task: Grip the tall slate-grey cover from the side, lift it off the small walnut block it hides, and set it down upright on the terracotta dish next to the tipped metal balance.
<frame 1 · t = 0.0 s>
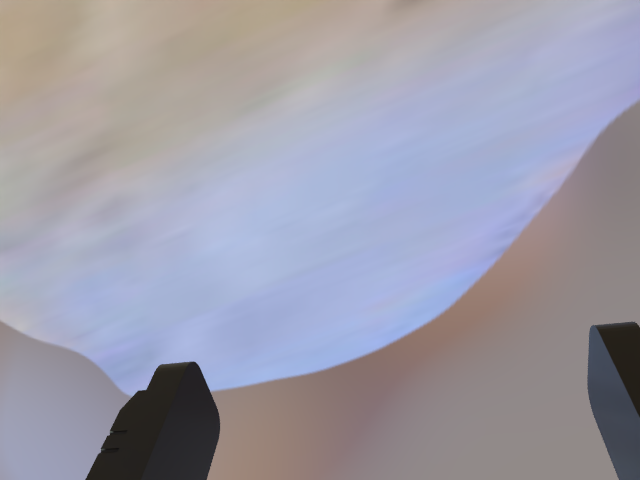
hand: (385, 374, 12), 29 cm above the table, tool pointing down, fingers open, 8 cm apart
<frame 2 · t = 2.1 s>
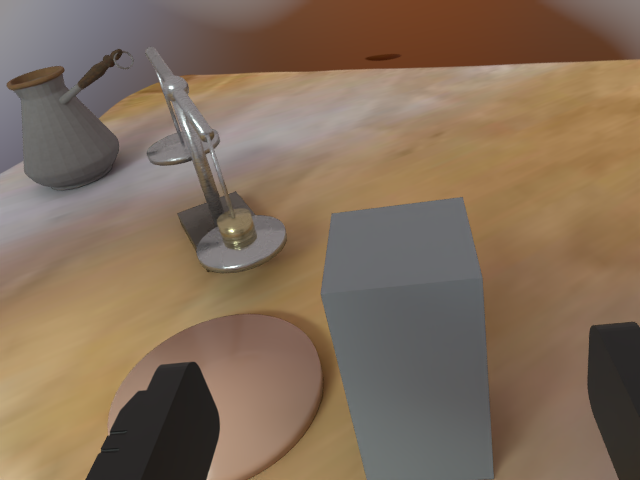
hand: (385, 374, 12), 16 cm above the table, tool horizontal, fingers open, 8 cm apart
tipped balance: (224, 233, 52), on the table
terracotta dish: (219, 396, 35), on the table
slate cover: (425, 430, 30), on the table
coffee pot: (109, 179, 69), on the table
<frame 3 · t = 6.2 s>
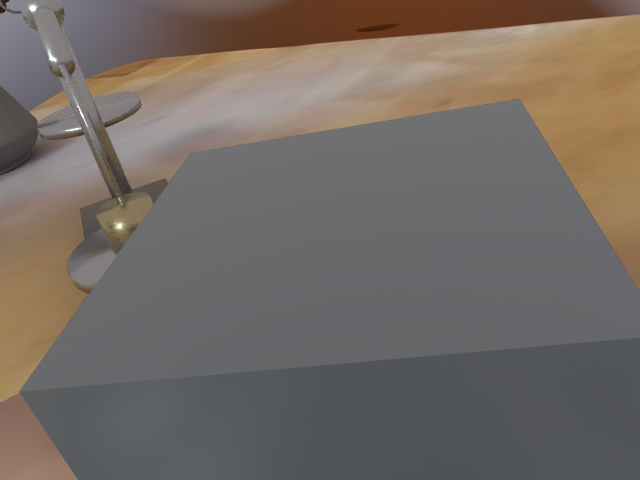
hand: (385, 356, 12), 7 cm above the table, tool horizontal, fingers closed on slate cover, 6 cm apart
tipped balance: (140, 235, 36), on the table
coffee pot: (21, 171, 54), on the table
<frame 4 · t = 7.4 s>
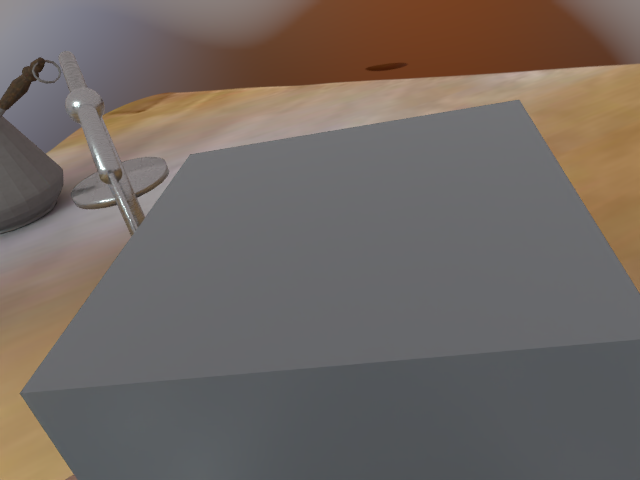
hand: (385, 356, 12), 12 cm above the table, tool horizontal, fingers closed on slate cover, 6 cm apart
tipped balance: (170, 300, 38), on the table
coffee pot: (49, 220, 56), on the table
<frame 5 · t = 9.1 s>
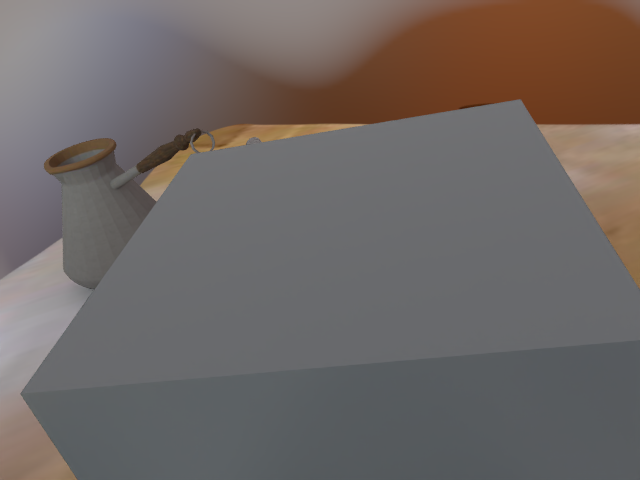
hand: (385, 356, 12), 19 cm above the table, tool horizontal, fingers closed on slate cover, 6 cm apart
coffee pot: (169, 277, 55), on the table
when the fingers open (9 cm above the table, at t = 12.0 s): slate cover drops 1 cm, resting on terracotta dish.
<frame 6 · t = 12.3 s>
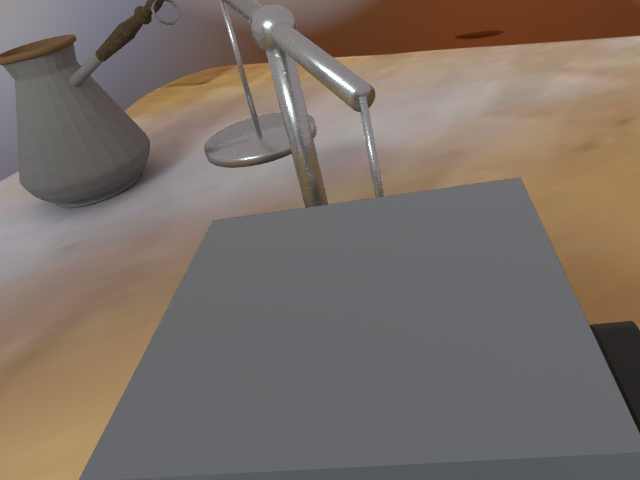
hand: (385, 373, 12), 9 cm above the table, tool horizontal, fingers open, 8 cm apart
tipped balance: (333, 275, 32), on the table
coffee pot: (137, 191, 50), on the table
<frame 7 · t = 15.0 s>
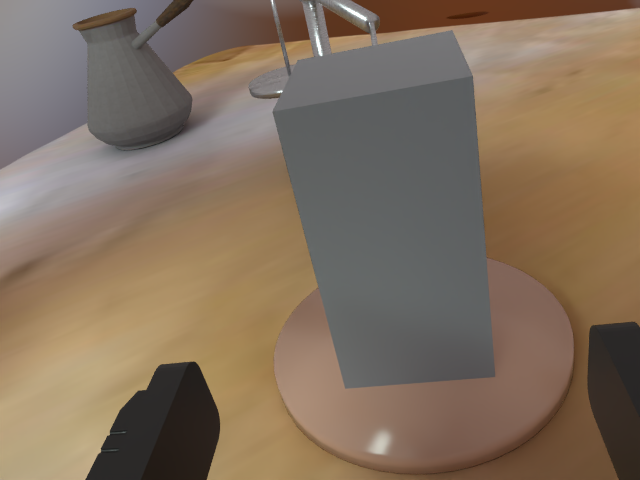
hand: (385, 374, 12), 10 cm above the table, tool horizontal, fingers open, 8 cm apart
tipped balance: (347, 177, 43), on the table
terracotta dish: (417, 349, 26), on the table
slate cover: (415, 333, 25), point 1 cm above the table, touching terracotta dish
coffee pot: (183, 137, 61), on the table
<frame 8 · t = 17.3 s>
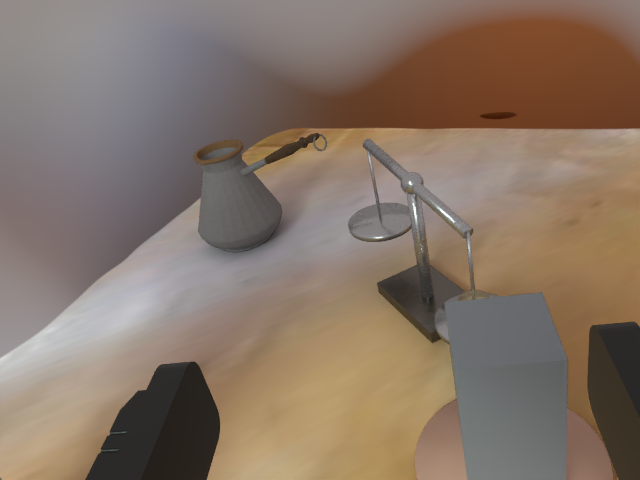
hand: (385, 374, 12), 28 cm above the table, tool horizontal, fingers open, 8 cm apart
tipped balance: (429, 303, 58), on the table
terracotta dish: (509, 468, 40), on the table
slate cover: (508, 459, 40), point 1 cm above the table, touching terracotta dish
coffee pot: (275, 241, 75), on the table
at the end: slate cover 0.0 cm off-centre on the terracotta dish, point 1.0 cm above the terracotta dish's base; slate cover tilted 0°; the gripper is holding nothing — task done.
